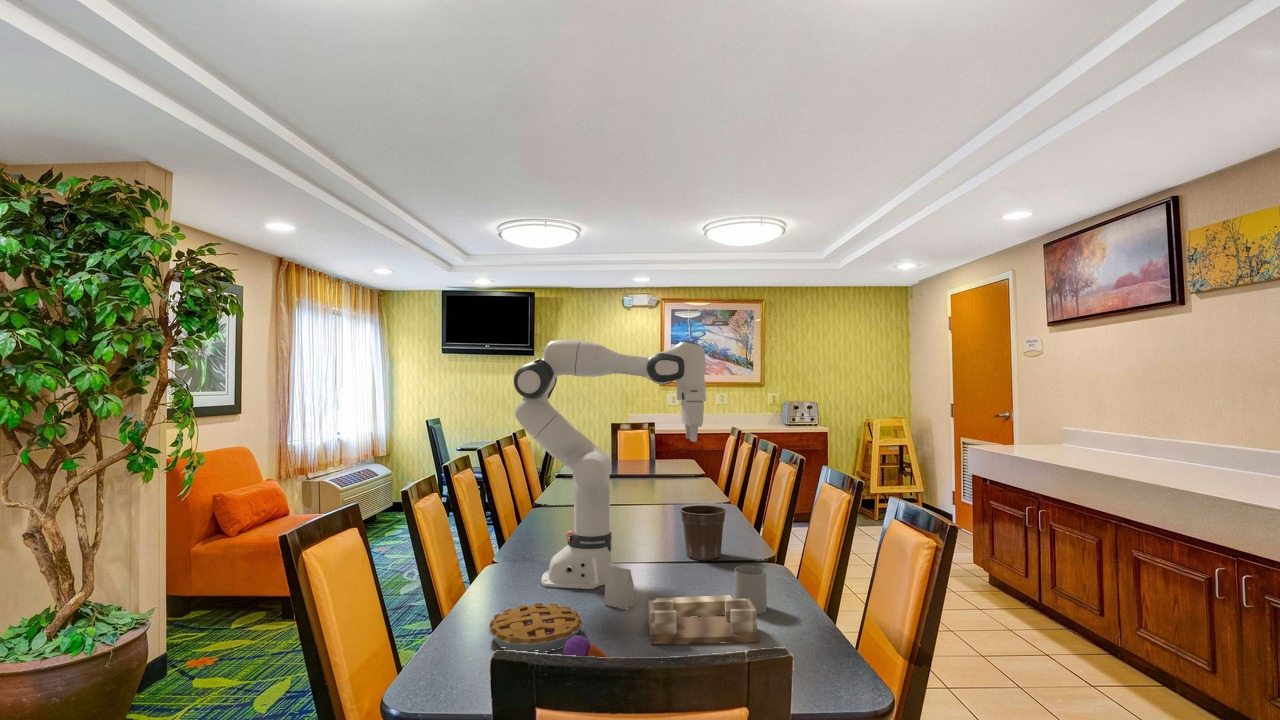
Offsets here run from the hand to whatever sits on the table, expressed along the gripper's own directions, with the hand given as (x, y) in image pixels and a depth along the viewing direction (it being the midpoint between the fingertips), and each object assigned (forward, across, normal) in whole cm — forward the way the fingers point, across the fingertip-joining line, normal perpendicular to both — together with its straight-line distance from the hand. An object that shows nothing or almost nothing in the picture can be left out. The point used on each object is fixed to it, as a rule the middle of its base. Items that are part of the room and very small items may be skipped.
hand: (691, 440), depth 180 cm
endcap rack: (+43, +36, -3) cm, 56 cm away
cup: (+43, +22, +13) cm, 50 cm away
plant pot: (+43, -28, +8) cm, 52 cm away
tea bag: (+43, +17, -22) cm, 51 cm away
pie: (+43, +36, -42) cm, 71 cm away
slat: (+43, +24, -3) cm, 50 cm away
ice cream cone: (+43, +53, -26) cm, 73 cm away
